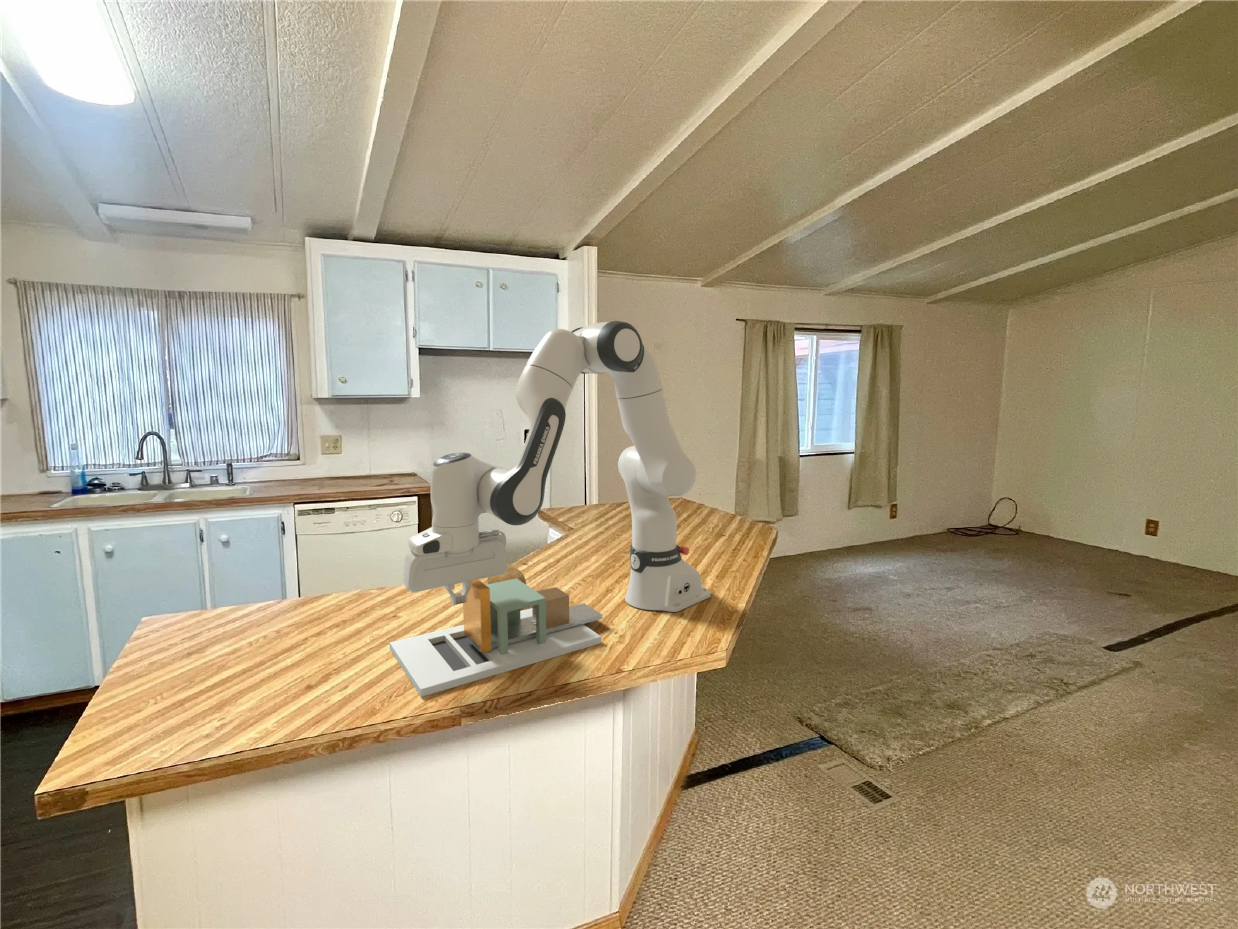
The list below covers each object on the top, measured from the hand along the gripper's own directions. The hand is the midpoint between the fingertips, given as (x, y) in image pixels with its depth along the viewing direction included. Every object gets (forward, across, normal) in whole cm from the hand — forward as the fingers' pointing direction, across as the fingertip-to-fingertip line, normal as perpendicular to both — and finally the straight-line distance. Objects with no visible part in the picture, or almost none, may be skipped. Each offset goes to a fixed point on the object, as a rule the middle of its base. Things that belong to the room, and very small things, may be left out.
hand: (459, 603), depth 119 cm
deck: (+11, -8, 0) cm, 14 cm away
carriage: (+10, -17, 0) cm, 20 cm away
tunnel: (+10, -11, 0) cm, 15 cm away
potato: (+12, -21, -24) cm, 34 cm away
